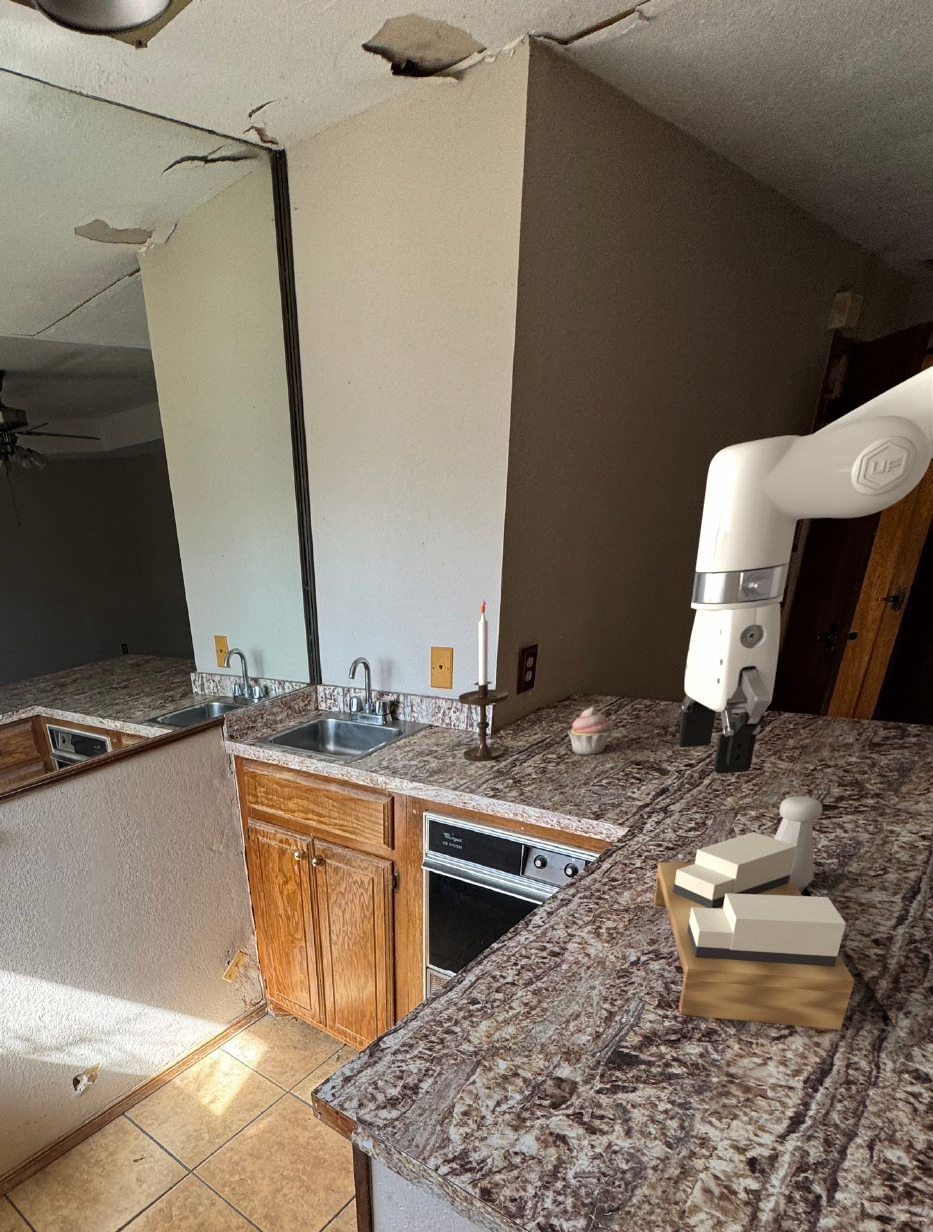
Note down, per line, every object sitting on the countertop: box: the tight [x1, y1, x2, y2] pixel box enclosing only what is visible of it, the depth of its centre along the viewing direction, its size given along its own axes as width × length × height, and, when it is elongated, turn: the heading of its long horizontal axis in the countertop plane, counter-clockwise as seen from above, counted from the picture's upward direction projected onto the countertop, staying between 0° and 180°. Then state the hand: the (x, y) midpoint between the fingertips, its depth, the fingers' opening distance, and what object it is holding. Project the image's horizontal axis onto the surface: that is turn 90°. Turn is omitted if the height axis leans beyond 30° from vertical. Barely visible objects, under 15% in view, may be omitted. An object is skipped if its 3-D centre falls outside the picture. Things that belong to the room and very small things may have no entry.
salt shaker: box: [773, 795, 823, 894], centre depth 90 cm, size 6×6×13 cm
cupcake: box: [567, 706, 614, 756], centre depth 154 cm, size 9×9×10 cm
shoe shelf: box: [653, 861, 856, 1031], centre depth 81 cm, size 14×26×6 cm, turn 159°
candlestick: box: [458, 599, 509, 762], centre depth 156 cm, size 11×11×35 cm
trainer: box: [673, 831, 796, 908], centre depth 83 cm, size 12×6×5 cm, turn 109°
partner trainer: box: [688, 893, 847, 966], centre depth 72 cm, size 12×6×5 cm, turn 69°
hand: (711, 758), depth 74 cm, fingers open, 9 cm apart
